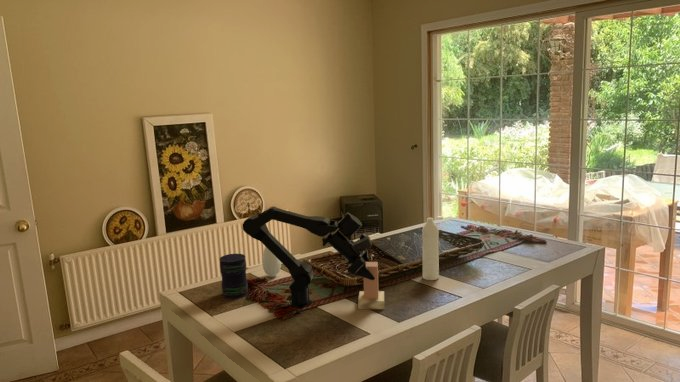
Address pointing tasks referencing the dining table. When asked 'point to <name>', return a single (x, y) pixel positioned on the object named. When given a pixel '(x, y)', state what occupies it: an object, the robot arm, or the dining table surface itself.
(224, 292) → the storage jar
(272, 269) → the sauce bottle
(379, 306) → the birch plinth
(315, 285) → the dining table surface
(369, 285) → the terracotta post
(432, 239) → the water bottle
